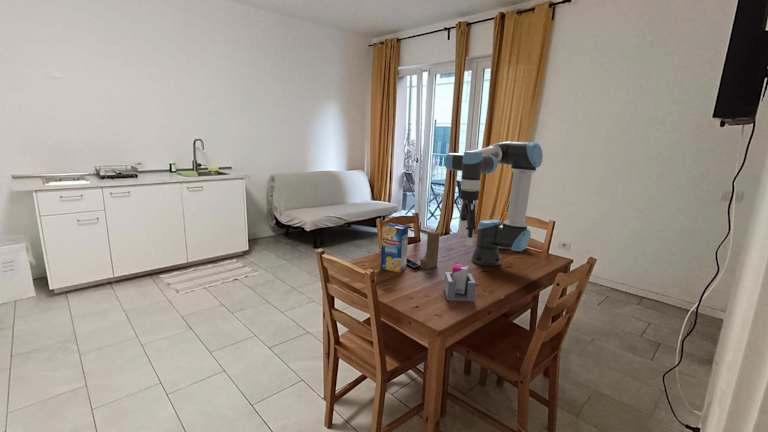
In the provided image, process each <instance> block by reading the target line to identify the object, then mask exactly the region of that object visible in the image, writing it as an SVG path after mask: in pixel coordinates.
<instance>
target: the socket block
mask: <svg viewBox="0 0 768 432" xmlns="http://www.w3.org/2000/svg"><path fill="white" fill-rule="evenodd" d="M443 284H444V285H443V290H444V295H445V296H446V297H445V298H446V300H447V301H460V302H461V301H462V302H475V299H476V298H475V297H476V287H477V282H476V281H475V279H474V276H473V275H472V273H471V272H468V278H467V289H466V292H465V294H464V295H459V294H455V290H456V280H452V271H445V272H444V283H443Z"/></svg>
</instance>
